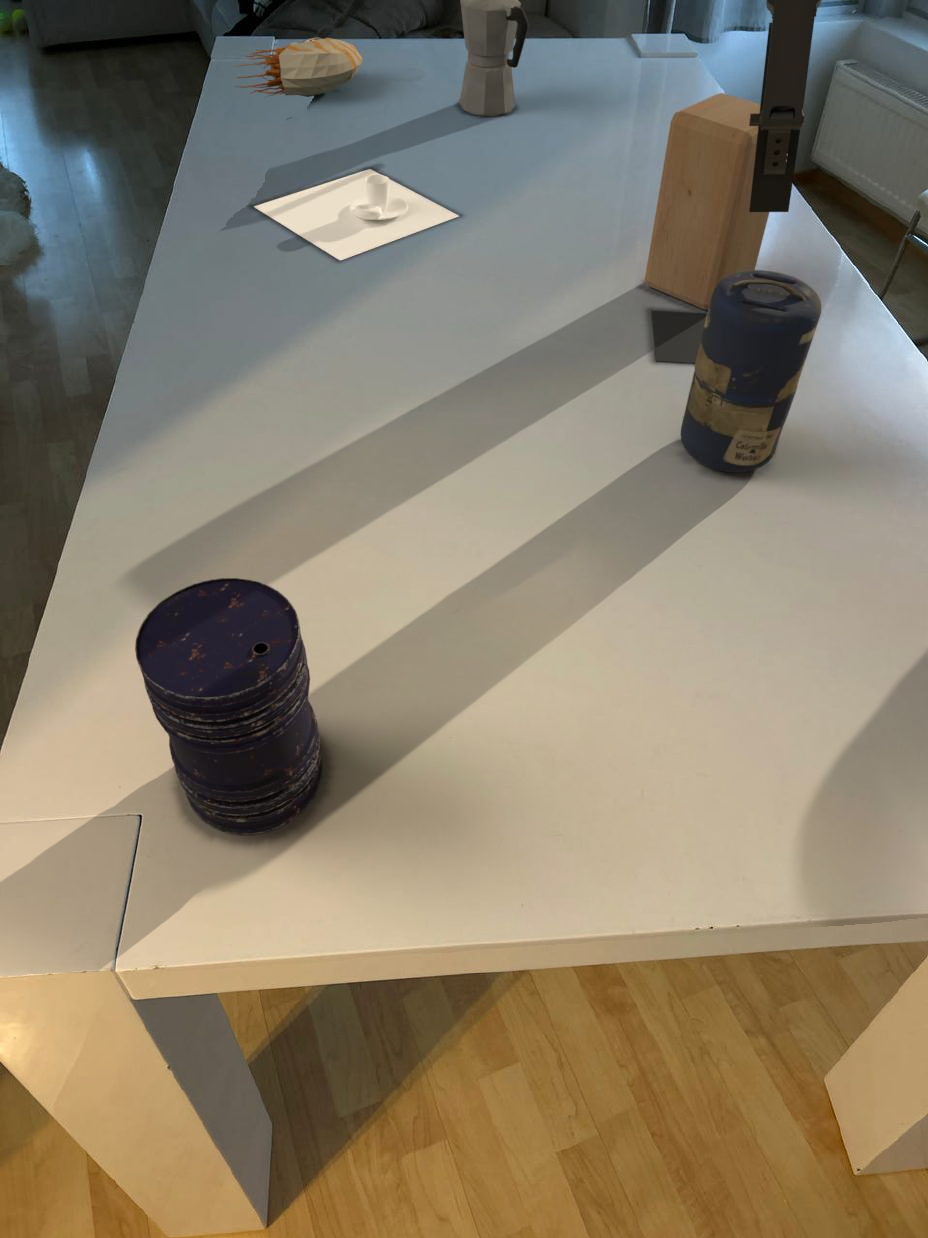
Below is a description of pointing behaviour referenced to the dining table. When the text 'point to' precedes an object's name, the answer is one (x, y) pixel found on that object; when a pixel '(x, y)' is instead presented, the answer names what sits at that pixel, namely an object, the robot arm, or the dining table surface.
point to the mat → (677, 335)
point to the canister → (748, 368)
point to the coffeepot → (491, 54)
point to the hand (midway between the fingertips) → (773, 158)
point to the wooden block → (706, 201)
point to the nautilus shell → (308, 67)
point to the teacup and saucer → (355, 213)
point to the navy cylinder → (234, 702)
